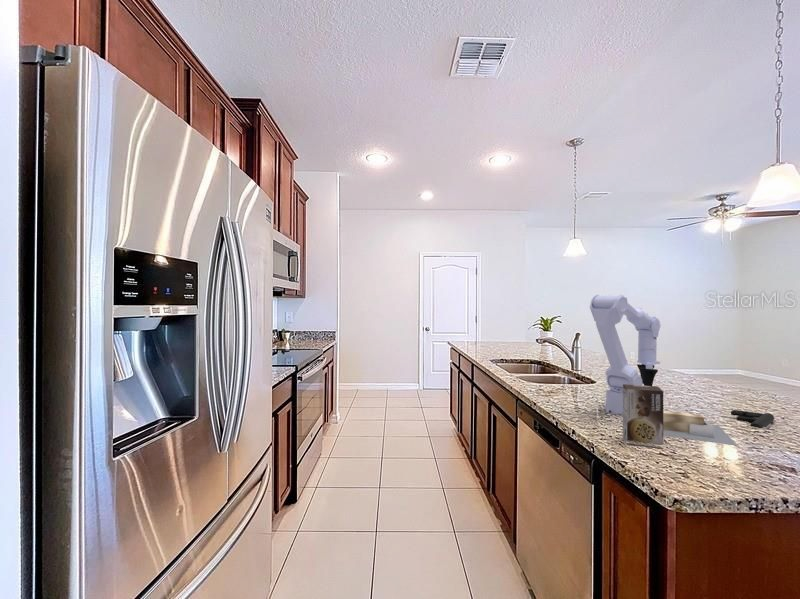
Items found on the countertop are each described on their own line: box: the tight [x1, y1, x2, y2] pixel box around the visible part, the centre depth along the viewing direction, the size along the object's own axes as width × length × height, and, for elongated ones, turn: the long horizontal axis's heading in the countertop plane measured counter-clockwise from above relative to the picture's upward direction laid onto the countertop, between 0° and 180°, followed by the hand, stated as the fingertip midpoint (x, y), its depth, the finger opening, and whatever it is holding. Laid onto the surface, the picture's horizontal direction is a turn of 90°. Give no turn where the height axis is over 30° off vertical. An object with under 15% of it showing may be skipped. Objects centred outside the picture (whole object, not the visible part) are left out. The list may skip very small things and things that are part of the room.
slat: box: [663, 410, 705, 433], centre depth 121 cm, size 14×3×5 cm, turn 64°
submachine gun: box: [721, 409, 775, 429], centre depth 135 cm, size 3×20×16 cm
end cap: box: [689, 420, 714, 438], centre depth 119 cm, size 6×6×3 cm
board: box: [663, 423, 739, 447], centre depth 122 cm, size 20×20×2 cm
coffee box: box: [622, 384, 665, 450], centre depth 113 cm, size 9×6×16 cm
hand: (646, 385), depth 147 cm, fingers open, 7 cm apart
